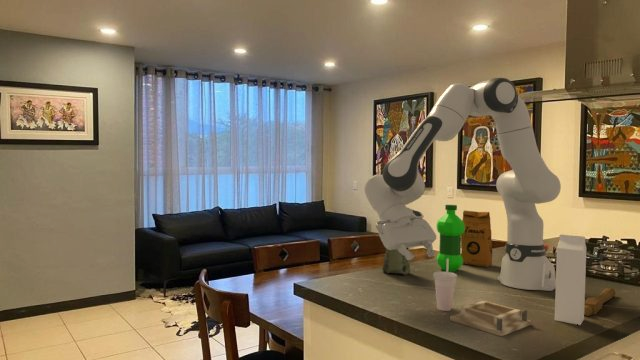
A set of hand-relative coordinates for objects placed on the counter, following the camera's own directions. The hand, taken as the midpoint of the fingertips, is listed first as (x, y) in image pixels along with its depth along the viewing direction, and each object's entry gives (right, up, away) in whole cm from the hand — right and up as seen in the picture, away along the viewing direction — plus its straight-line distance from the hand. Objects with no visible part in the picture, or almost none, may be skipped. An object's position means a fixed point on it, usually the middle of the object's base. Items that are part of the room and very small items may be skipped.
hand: (422, 257), depth 135 cm
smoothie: (+5, -13, -6) cm, 15 cm away
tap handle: (+51, -15, +1) cm, 53 cm away
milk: (+35, -14, -14) cm, 40 cm away
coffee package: (+34, -13, +56) cm, 67 cm away
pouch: (-1, -12, +38) cm, 40 cm away
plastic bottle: (+20, -13, +45) cm, 51 cm away
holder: (+14, -14, -17) cm, 26 cm away
